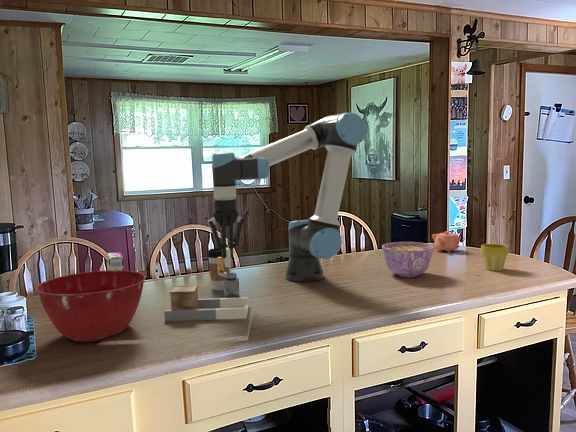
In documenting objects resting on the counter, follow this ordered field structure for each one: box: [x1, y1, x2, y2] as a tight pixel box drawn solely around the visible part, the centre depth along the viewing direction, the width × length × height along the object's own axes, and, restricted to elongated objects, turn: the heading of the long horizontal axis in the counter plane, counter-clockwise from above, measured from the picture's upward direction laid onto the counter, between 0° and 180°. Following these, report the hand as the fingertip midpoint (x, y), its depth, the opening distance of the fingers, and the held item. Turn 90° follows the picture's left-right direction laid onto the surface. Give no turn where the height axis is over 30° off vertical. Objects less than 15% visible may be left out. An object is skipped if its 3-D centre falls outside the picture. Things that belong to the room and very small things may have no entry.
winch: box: [219, 277, 247, 298], centre depth 169 cm, size 9×9×8 cm
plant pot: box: [480, 243, 510, 272], centre depth 207 cm, size 10×10×10 cm
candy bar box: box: [106, 251, 125, 271], centre depth 173 cm, size 11×5×16 cm, turn 23°
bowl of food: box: [381, 241, 435, 278], centre depth 201 cm, size 20×20×12 cm
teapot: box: [431, 230, 461, 254], centre depth 246 cm, size 12×12×10 cm
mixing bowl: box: [35, 270, 146, 343], centre depth 142 cm, size 28×28×15 cm
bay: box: [164, 296, 250, 322], centre depth 155 cm, size 24×12×4 cm, turn 91°
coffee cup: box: [207, 247, 230, 291], centre depth 187 cm, size 8×8×15 cm
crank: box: [217, 257, 238, 280], centre depth 170 cm, size 9×4×6 cm, turn 42°
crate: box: [169, 284, 199, 310], centre depth 155 cm, size 7×7×8 cm
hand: (228, 266), depth 174 cm, fingers closed
